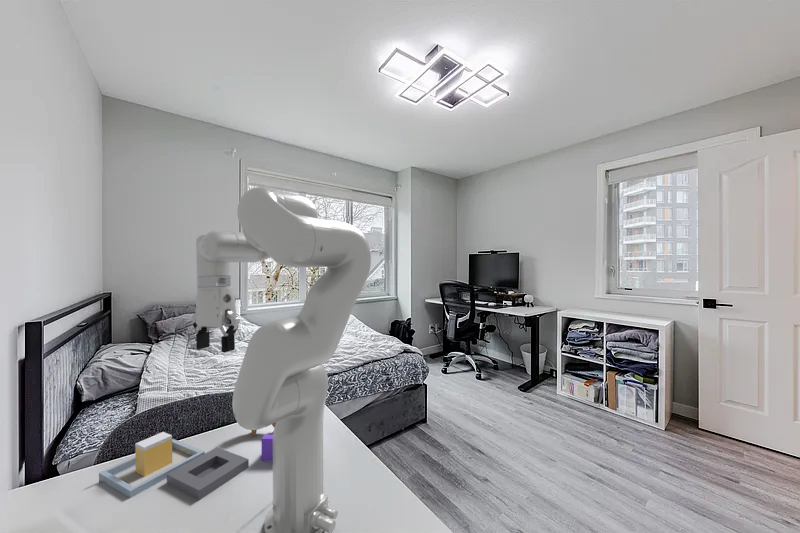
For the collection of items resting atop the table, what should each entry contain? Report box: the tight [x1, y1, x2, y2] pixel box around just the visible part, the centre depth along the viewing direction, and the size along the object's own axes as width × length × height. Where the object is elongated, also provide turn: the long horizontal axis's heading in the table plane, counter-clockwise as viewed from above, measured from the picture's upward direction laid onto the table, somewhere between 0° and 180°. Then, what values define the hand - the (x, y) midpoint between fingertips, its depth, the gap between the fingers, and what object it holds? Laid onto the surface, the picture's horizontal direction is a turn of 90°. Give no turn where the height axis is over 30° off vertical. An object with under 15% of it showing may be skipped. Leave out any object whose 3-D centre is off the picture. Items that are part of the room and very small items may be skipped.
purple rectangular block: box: [260, 434, 273, 462], centre depth 87 cm, size 12×7×7 cm, turn 179°
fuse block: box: [166, 446, 250, 501], centre depth 75 cm, size 12×12×3 cm
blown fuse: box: [135, 431, 173, 477], centre depth 78 cm, size 4×6×7 cm, turn 153°
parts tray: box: [98, 438, 206, 499], centre depth 78 cm, size 14×16×2 cm
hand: (215, 349), depth 82 cm, fingers open, 9 cm apart
